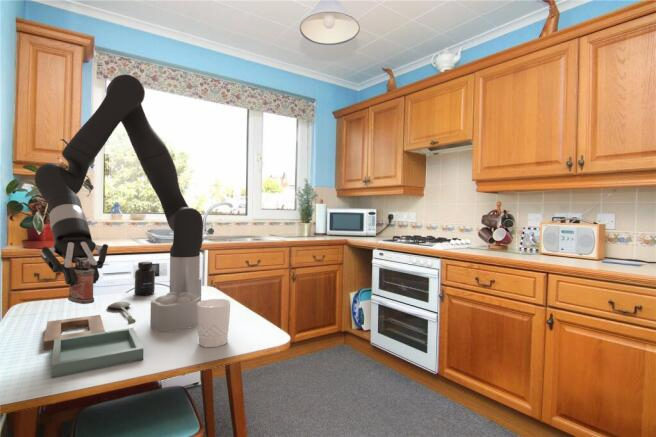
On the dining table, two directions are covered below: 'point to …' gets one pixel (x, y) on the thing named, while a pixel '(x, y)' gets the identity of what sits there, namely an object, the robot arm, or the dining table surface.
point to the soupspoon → (122, 306)
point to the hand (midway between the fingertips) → (83, 282)
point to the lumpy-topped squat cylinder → (174, 312)
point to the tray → (95, 351)
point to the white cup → (213, 322)
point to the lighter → (82, 282)
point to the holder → (56, 326)
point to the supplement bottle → (144, 279)
